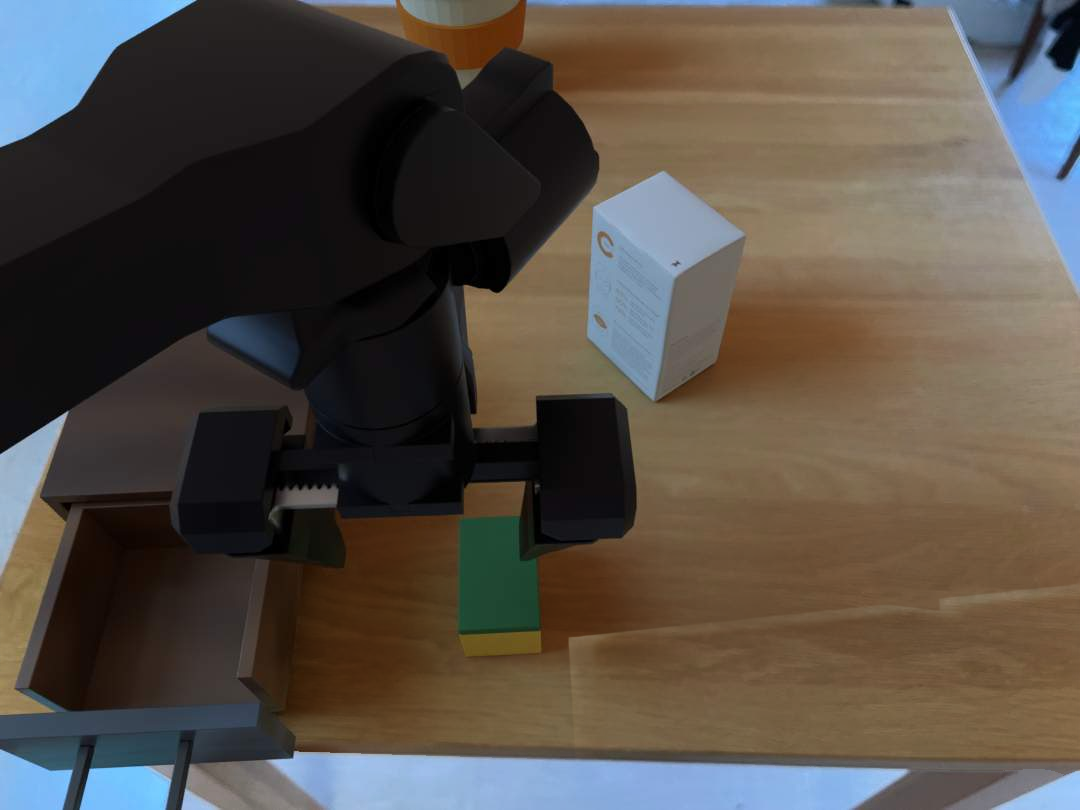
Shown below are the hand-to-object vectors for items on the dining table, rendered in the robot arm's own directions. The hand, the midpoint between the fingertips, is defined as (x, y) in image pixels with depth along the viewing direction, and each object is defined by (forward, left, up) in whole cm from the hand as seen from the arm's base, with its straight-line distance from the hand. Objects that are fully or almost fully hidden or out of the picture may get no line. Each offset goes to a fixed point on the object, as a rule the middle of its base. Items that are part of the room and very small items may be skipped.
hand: (432, 555), depth 42 cm
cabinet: (+8, +19, -11) cm, 23 cm away
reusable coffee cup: (+54, +17, -11) cm, 57 cm away
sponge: (+3, -2, -11) cm, 11 cm away
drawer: (-7, +14, -10) cm, 19 cm away
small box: (+25, -7, -11) cm, 28 cm away
